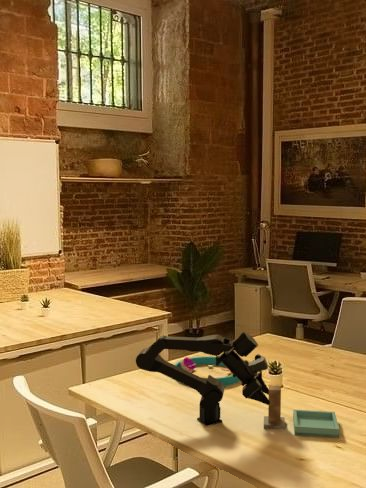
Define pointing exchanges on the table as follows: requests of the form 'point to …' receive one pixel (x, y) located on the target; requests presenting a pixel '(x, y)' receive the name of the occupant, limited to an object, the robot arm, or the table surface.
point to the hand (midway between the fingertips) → (269, 398)
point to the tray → (315, 423)
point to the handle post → (274, 410)
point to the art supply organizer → (190, 364)
